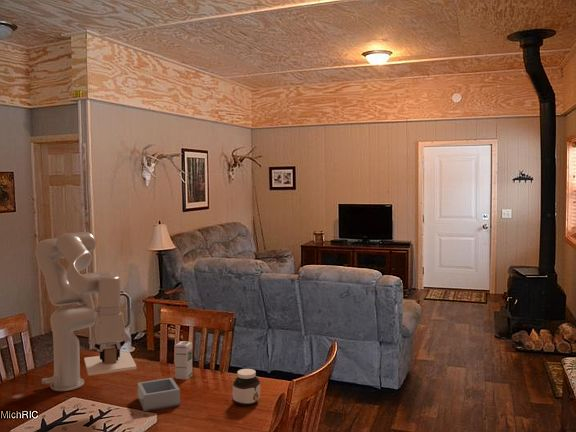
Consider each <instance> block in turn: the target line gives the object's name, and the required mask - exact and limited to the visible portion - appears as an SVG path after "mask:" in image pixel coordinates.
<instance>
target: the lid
mask: <svg viewBox="0 0 576 432" xmlns="http://www.w3.org/2000/svg"><path fill="white" fill-rule="evenodd" d="M103 349H104V359H105V362H102V360H100V355H95V356H87V357H84V358H83V360H84V365H85V368H86V372H87V376H90V377H91V376H96V375H104V374H110V373H111V374H112V373H118V372H123V371H132V370H137V369H138V368H137V364H136V362H135V360H134V358H133V356H132V355H131V352H129V351H125V352H120V357H118V361H117V360H116V345H112V346H104V348H103Z"/></svg>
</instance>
